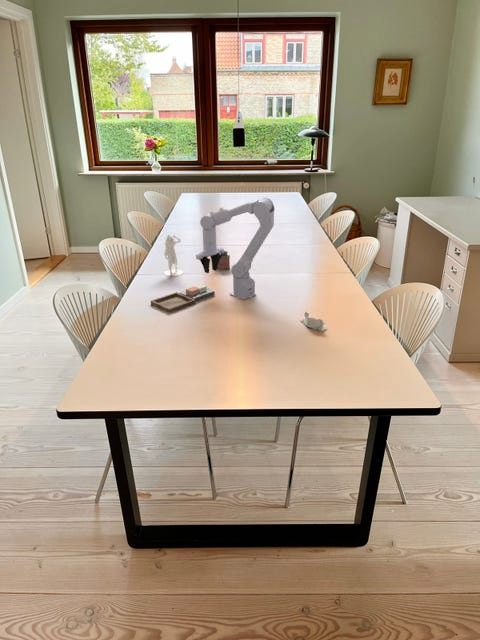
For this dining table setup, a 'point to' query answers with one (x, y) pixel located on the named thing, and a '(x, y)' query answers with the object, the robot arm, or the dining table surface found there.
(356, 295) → the dining table surface
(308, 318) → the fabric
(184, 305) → the box
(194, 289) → the tile
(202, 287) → the tile
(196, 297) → the slate plate
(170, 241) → the female figurine
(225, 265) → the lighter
